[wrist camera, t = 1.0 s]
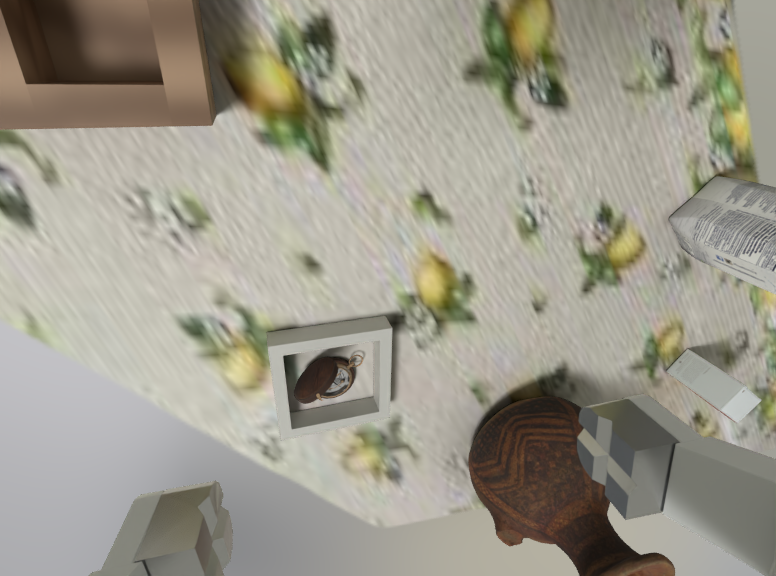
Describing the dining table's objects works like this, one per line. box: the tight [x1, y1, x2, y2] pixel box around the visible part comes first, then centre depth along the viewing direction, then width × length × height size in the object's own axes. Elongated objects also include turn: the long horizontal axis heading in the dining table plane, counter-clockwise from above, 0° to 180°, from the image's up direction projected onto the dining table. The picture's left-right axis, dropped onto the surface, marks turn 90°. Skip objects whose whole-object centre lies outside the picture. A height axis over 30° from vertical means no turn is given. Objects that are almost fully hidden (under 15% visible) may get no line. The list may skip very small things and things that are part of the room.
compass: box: [294, 355, 363, 404], centre depth 53 cm, size 8×8×7 cm
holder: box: [0, 0, 216, 130], centre depth 31 cm, size 14×14×7 cm
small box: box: [666, 349, 761, 423], centre depth 75 cm, size 8×6×10 cm
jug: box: [469, 396, 675, 576], centre depth 60 cm, size 22×22×30 cm
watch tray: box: [266, 316, 392, 441], centre depth 54 cm, size 14×14×3 cm
